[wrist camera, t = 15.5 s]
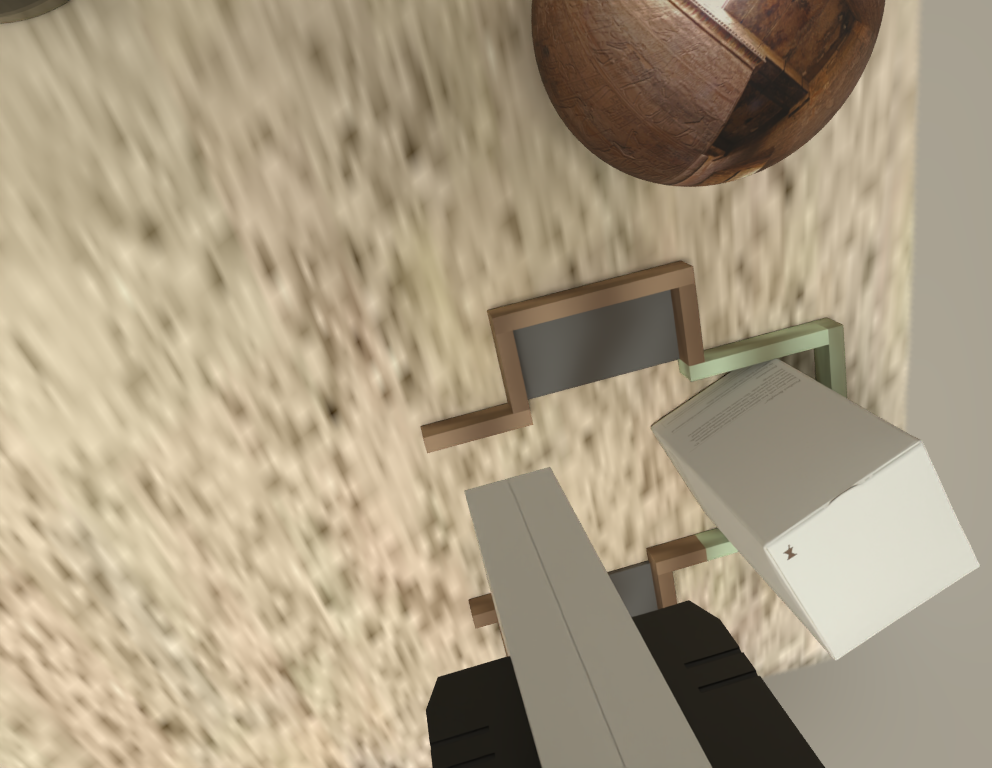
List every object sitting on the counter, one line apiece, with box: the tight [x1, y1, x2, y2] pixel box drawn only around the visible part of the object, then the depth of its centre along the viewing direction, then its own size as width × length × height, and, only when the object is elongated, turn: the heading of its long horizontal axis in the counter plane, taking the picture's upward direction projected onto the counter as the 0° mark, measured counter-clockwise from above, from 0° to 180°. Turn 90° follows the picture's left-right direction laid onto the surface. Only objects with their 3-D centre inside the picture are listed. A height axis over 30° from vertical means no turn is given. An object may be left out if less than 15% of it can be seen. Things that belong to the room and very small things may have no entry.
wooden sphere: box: [531, 0, 885, 187], centre depth 35 cm, size 15×15×15 cm
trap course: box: [421, 261, 847, 657], centre depth 50 cm, size 26×26×2 cm
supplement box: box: [651, 358, 980, 660], centre depth 44 cm, size 9×9×15 cm
